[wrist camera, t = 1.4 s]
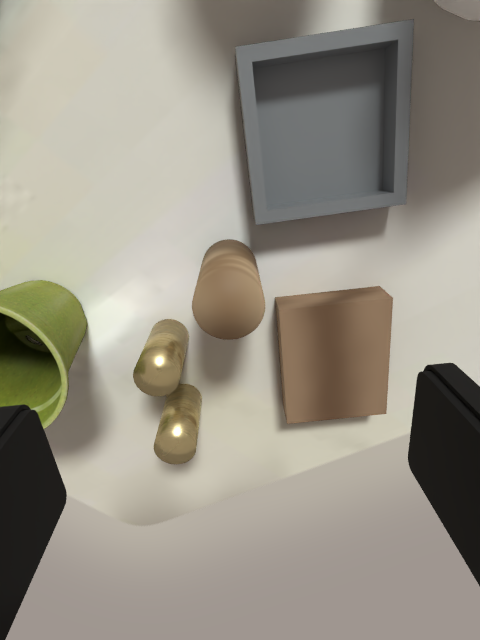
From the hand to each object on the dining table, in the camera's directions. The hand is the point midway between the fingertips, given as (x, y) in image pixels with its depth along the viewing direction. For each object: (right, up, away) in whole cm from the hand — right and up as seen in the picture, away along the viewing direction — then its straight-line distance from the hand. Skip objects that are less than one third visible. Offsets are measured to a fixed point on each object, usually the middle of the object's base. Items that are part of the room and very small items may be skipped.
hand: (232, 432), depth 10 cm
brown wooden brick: (+7, +1, +22) cm, 23 cm away
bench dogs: (-5, -1, +22) cm, 23 cm away
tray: (+5, +15, +15) cm, 22 cm away
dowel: (-1, +7, +19) cm, 20 cm away
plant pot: (-15, +3, +20) cm, 25 cm away
